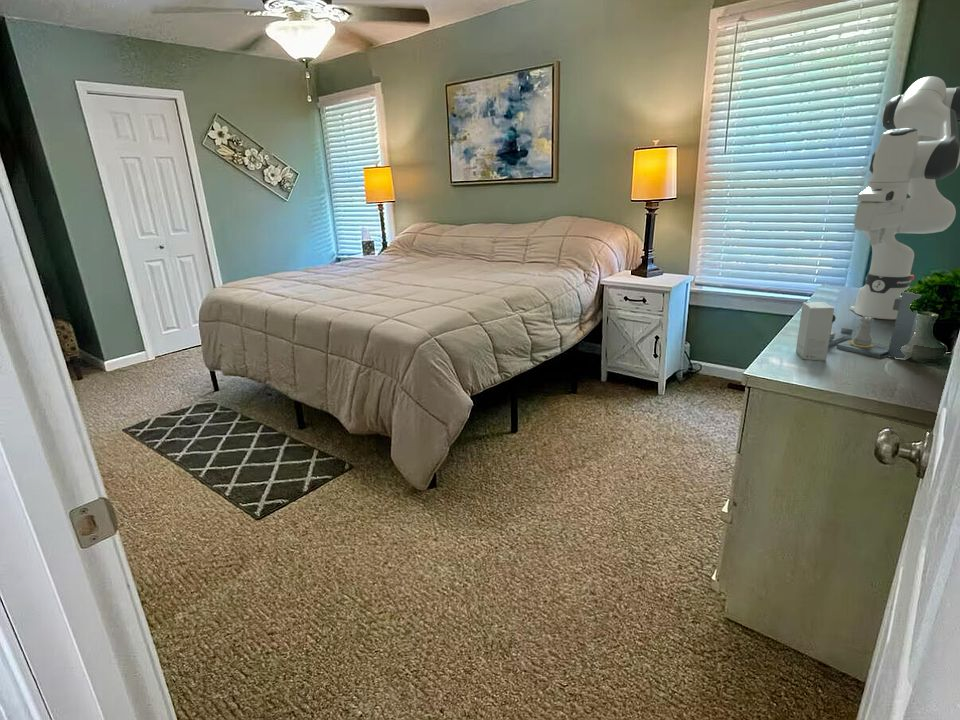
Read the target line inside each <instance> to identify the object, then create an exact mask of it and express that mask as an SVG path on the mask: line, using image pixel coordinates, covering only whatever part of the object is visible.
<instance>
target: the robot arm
mask: <svg viewBox="0 0 960 720" xmlns="http://www.w3.org/2000/svg"><path fill="white" fill-rule="evenodd" d="M881 123H882V126H883V127H884V129H885V130H886V131H884V132H882V135H881V137H880V139H879V142H878V144H877V148H876V151H874V152H873V153H872V156H871V160H870V165H869V169H868V170H869V172H871V174H872V175H871V177H870V179H869V182H868V186H867V187H866V188H865V189H864V190H862V191H861V192H860V193H858V195H857V202H859V203H858V205H857V207H856V211H855V212H854V219H853V220H854V229H855V231H860V232H862V233H863V234H864V235H865V236H866V237H867V239H868V241H869V245H870V246H871V252H872V254H871V261H870V266H869V267H870V268H869V272H868V273H867V274H866V277H865V281H864V282H865V284H864V286H862V287H860V288H859V290H858V293H857V297H856V300H855V304H854V305H852V306H850V307H849V310H850V311H853V312H854V313H855V314H856V315H859V316H865V317H866V316H869V317H870V316H872V317H873V319H880V320H896V318H897V314H898V311H897V310H893V306H894V302H895V299H896V298H900V295H901V293H902V292H904V291H905V290H907V289H908V288H909V287H910V286H911V282H912V281H913V280H914V278H915V275H914V274H911V272H912V267H913V264H914V261H915V260H914V259H915V252H914V250H913V249H912V248H911V247H910V246H908V245H906V244H904V243H902V242H900V241H898V240H897V239H896V237H895V235H896V234H897V235H898V234H918V235H919V234H923V235H925V234H934V233H940V232H944V231H945V230H947V229H948V228H949V227H951V225H952V224H953V222H955V218H956V215H957V214H956V213H957V211H956V207H955V205H954V204H953V202H952V201H951V200H949V199H947V198H946V197H944V195H942V193H941V192H940V191H939V190H938V187H937V184H936V180H940V181H941V180H943V179H945V178H947V177H948V176H950V175H951V174H953V173H955V172H956V170H957V168H958V167H959V165H960V138H959V126H958V125H960V86H956V87H947V85H946V83H945V81H944V79H942V78H940V77H938V76H933V75H932V76H930V75H929V76H924V77H922V78H919V79H917V80H916V81H914V82H913V83H912V84H911V85H910V86H909V87H908V88H907V89H906V90H905V92H904V93H903V94H898V95H896V96H894V97H891V99H889V100H887V102H886V104H885V106H884V108H883V110H882V112H881ZM907 196H909V197H907Z"/></svg>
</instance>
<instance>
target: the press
mask: <svg viewBox="0 0 960 720" xmlns="http://www.w3.org/2000/svg"><path fill="white" fill-rule="evenodd" d="M921 296H922V295H921V294H915V293H913V292H909V291H907V292H903V294H902V297H900V298H896V299H895V302H894V306H893V310H897V311H898V314H897V318H896V319H895V322H894V327H893V330H892V335H891V338H890V342H889V344H885V343H880V342H875V341H871V342H872V343H871V344H870V345H858V344H855V343H854V342H853V340H855V339H854V338H852V337H853V332H854V329H853V328H850V327H845V326H842V327H841V330H840V332H837V333H835V337H834V339H833V340H830V341H829V345H828V348H829V347H832V346H834V345H836V349H837V350H842V351H847V352H851V353H855V354H858V355H863V356H868V357H871V356H872V358H875V357H877V358H876V359H882V358H884V357H887V356H890V357H896V358H904V357H905V355H904V354H903V353H902V352H901V350H900V349H901V347H902V346H904V345H906V344H908V343H909V342H910V340H911V338H912V336H913V334H914V332H915V329H916V320H917V319H918V316H917V312H916V311H913V312H914V313H913V312H912V311H911V309H910V307H909V306H910V304H911V303H912V302H913V301H914V300H917V299H919V298H920V297H921ZM886 355H887V356H886ZM883 356H884V357H883ZM881 357H882V358H881ZM890 357H889V358H890Z"/></svg>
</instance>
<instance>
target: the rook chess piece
mask: <svg viewBox="0 0 960 720" xmlns="http://www.w3.org/2000/svg"><path fill="white" fill-rule="evenodd" d="M861 316H862V315H861ZM859 320H860V321H861V322H860V324H859V325H860V327H859V330H858V331H857V334H856V335H854V336H853V339H855V340H853V342H854V343H855V344H858V345H870V344H871V343H872V342H873V338H872V335H871V328H872V326H873V324H872V323H874V322H875V318H873V317H872V316H870V317H869V316H862V317H861V318H860V319H859Z"/></svg>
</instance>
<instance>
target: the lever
mask: <svg viewBox="0 0 960 720" xmlns="http://www.w3.org/2000/svg"><path fill="white" fill-rule="evenodd" d="M836 319H837V318H836V315H835V314H833V319H832V326H831V330H832V328H833V323H834V322H835V321H836ZM835 334H836V332H832V331H831V332H830V339H829V341H830V340H833V339H834V337H835Z"/></svg>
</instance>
